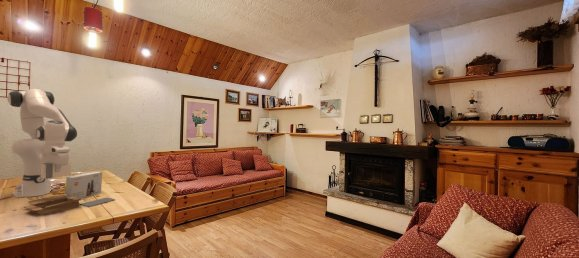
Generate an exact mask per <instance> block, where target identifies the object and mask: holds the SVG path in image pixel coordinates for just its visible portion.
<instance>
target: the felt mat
mask: <svg viewBox="0 0 579 258" xmlns="http://www.w3.org/2000/svg"><path fill="white" fill-rule="evenodd" d="M113 201H116V198H110V197H102V198H98V199H94V200H91V201H87V202H83V203H79V206H82V207H84V208H85V207H86V208H91V207H96V206H99V205H103V204H105V203H106V204H107V203H111V202H113Z"/></svg>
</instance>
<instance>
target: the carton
mask: <svg viewBox="0 0 579 258" xmlns="http://www.w3.org/2000/svg"><path fill="white" fill-rule="evenodd" d="M65 195H66V193H63V194H62V193H61V194H58V195H53V196H48V197H42V198H37V199H33V200H29V201H28V204H29V205H26V206H23V208H24V209H28V210H30V212H32V213H35V214H38V215H41V216H46V215H50V214H54V213H58V212H61V211H65V210H70V209H73V208H77V207H79V206H80V201H84V200H85V199H84V198H77V197H73V196H72V197H66V196H65Z"/></svg>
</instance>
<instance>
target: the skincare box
mask: <svg viewBox="0 0 579 258" xmlns="http://www.w3.org/2000/svg"><path fill="white" fill-rule="evenodd" d="M65 177H66V180H65V181H66V183H65V196H66V197H72V196H73V197H77V198H82V199H84V198H88V197H89V198H90V197H92V196H95V195H99V194H102V183H103V182H102V181H103V180H102V179H103V172H102V171H93V172H86V173H81V174H75V175H68V176H65Z"/></svg>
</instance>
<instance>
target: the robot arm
mask: <svg viewBox="0 0 579 258" xmlns="http://www.w3.org/2000/svg"><path fill="white" fill-rule="evenodd" d="M6 100H7V101H8V104H9V105H10V106H11V107H15V108H20V109H19V110H20V111H19V116H20V124H21V130H22V132H24V133H25V134H28V135H29V137H30V138H23V139H20V140H16V141H15V142H13V143H12V146H11V151H12V152H13V153H14V154H15V155H17V156H18V157H20V159H21V161H22V162H23V168H24V169H23V171H24V173H23V175H22V180H21V181H20V182H19V183H18V184H17V186H16V185H15V186H14V189H15V191H12V192H11V194H12V195H13V196H14V197H15V198H28V197H39V196H43V195H47V194H49V193H51V192H52V191H51V190H52V187H51V180H50V179H49V178H48V179H44V178H41V164H43V163H50V164H55V165H56V169H55V172H60V168H61V166H62V165H67V164H68V162H69V158H70V157H69V156H70V149H71V148H70V147H68V146H67V145H66V142H72V141H74V140H75V139H76V138H77V136H78V131H77V129H76V127H74V125H72V124H71V122H70V121H69V119H68V118H67V117H66V115H65V114H64V113H63V111H62V110H61V109H59V108H57V107H56V106H55V105H54V104H55V101H56V100H55V96H54V94H53V93H52V92H50V91H46V90H45V91H43V90H42V89H39V88H30V89H27V90H20V91H19V90H13V91H10V92H9V93H8V94H7V97H6ZM44 118H46V119H50V120H48V121H46V122H45V119H44ZM40 155H41V156H40ZM50 191H51V192H50Z"/></svg>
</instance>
